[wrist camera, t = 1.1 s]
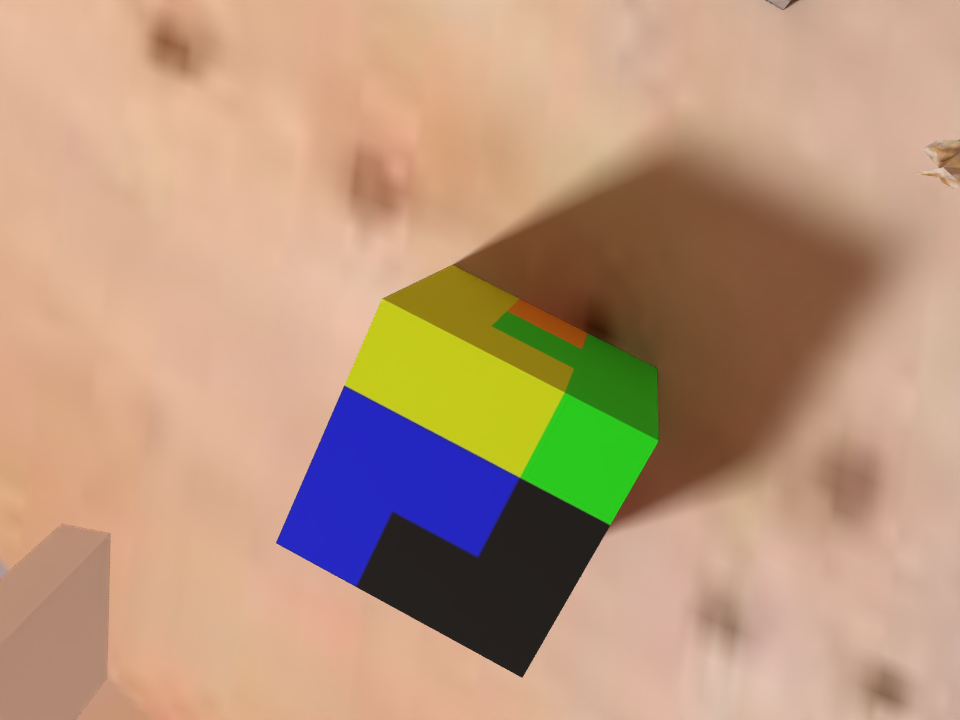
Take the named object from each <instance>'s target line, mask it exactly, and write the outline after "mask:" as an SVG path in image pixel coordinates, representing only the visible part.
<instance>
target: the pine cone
mask: <svg viewBox="0 0 960 720" xmlns="http://www.w3.org/2000/svg"><path fill="white" fill-rule="evenodd" d="M923 150H924V151H925V152H926V153H927V155H928V156H929V157H930V158H931V159H932V160H933V161H934V162H935V163H936V164H937V165H938V166H939V168H937V169H932V170H927V171H922V172H917V173H913V174H921V175H928V176H936V177H940V179H941V181H942V182H943V183H944V184H946V185H948V186H950V187H952V188H956V187H958V186H960V140H941V141H935V142H934V143H932V144H930V145H928V146H927V147H925V148H923Z"/></svg>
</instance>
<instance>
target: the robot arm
mask: <svg viewBox="0 0 960 720" xmlns="http://www.w3.org/2000/svg"><path fill="white" fill-rule="evenodd" d="M110 534H111V533H106V532H101V531H96V530H91V529H86V528H81V527H76V526H70V525H65V524H61V525H60V526H59V527H58V528H57V529H56V530H54V531H53V532H52V533H51V534H50V535H49V536H48V537H47V538H45V539H44V540H43V541H42V542H41V543H40V544H39V545H38V546H37V547H35V548H34V549H33V550H32V551H31V552H30V553H29V554H28V555H26V556H25V557H24V558H23V559H22V560H21V561H20V562H19V563H17V564H16V565H15V566H14V567H13V568H12V569H11V570H10V571H9V572H7V573H6V574H5V575H4V576H3V577H2V578H1V579H0V720H76V719H77V718H78V716H79V715H80V714H81V713H82V711H83V710H84V708H85V707H86V706H87V705H88V703H89V702H90V701H91V699H92V698H93V697H94V695H95V694H96V693H97V691H98V690H99V689H100V687H101V686H102V685H103V683H104V682H105V681H106V679H107V661H108V619H109V576H110Z"/></svg>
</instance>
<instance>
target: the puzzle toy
mask: <svg viewBox="0 0 960 720" xmlns="http://www.w3.org/2000/svg"><path fill="white" fill-rule="evenodd" d="M658 441H659V427H658V383H657V368H655V367H653V366H651V365H649V364H647V363H645V362H643V361H642V360H640V359H638V358H636V357H634V356H632V355H630V354H628V353H626V352H624V351H622V350H620V349H618V348H616V347H614V346H612V345H610V344H608V343H606V342H604V341H602V340H600V339H598V338H596V337H594V336H592V335H590V334H588V333H586V332H584V331H582V330H580V329H578V328H576V327H574V326H572V325H570V324H568V323H566V322H564V321H562V320H561V319H559V318H557V317H555V316H553V315H551V314H549V313H547V312H545V311H543V310H541V309H539V308H537V307H535V306H533V305H531V304H529V303H527V302H525V301H523V300H521V299H519V298H517V297H515V296H513V295H511V294H509V293H507V292H505V291H503V290H501V289H499V288H497V287H495V286H493V285H491V284H489V283H487V282H485V281H483V280H481V279H479V278H478V277H476V276H474V275H472V274H470V273H468V272H466V271H464V270H462V269H460V268H458V267H456V266H454V265H451V266H449V267H447V268H445V269H443V270H441V271H439V272H437V273H435V274H432V275H430V276H428V277H426V278H424V279H422V280H420V281H418V282H416V283H414V284H412V285H410V286H408V287H405V288H403V289H401V290H399V291H397V292H395V293H393V294H391V295H389V296H387V297H385V298H383V299H382V300H381V303H380V305H379V307H378V310H377V312H376V314H375V317H374V319H373V321H372V323H371V326H370V328H369V330H368V333H367V335H366V337H365V340H364V342H363V344H362V346H361V349H360V351H359V353H358V356H357V358H356V360H355V363H354V365H353V367H352V369H351V372H350V374H349V376H348V379H347V381H346V383H345V385H344V388H343V390H342V392H341V395H340V397H339V399H338V402H337V404H336V406H335V408H334V411H333V413H332V415H331V418H330V420H329V422H328V425H327V427H326V429H325V431H324V434H323V436H322V438H321V441H320V443H319V445H318V448H317V450H316V452H315V454H314V457H313V459H312V461H311V464H310V466H309V468H308V471H307V473H306V475H305V477H304V480H303V482H302V484H301V487H300V489H299V491H298V494H297V496H296V498H295V500H294V503H293V505H292V507H291V510H290V512H289V514H288V517H287V519H286V521H285V523H284V526H283V528H282V530H281V533H280V535H279V537H278V540H277V542H276V543H277V544H279V545H281V546H282V547H284V548H286V549H288V550H290V551H292V552H293V553H295V554H297V555H299V556H301V557H302V558H304V559H306V560H308V561H310V562H312V563H313V564H315V565H317V566H319V567H321V568H323V569H324V570H326V571H328V572H330V573H332V574H334V575H335V576H337V577H339V578H341V579H343V580H345V581H346V582H348V583H350V584H352V585H354V586H355V587H357V588H359V589H361V590H363V591H365V592H366V593H368V594H370V595H372V596H374V597H376V598H377V599H379V600H381V601H383V602H385V603H387V604H388V605H390V606H392V607H394V608H396V609H398V610H399V611H401V612H403V613H405V614H407V615H409V616H410V617H412V618H414V619H416V620H418V621H419V622H421V623H423V624H425V625H427V626H429V627H430V628H432V629H434V630H436V631H438V632H440V633H441V634H443V635H445V636H447V637H449V638H451V639H452V640H454V641H456V642H458V643H460V644H462V645H463V646H465V647H467V648H469V649H471V650H472V651H474V652H476V653H478V654H480V655H482V656H483V657H485V658H487V659H489V660H491V661H493V662H494V663H496V664H498V665H500V666H502V667H504V668H505V669H507V670H509V671H511V672H513V673H515V674H516V675H518V676H520V677H523V676H524V674H525V672H526V670H527V669H528V667H529V665H530V663H531V662H532V660H533V658H534V657H535V655H536V653H537V651H538V650H539V648H540V646H541V644H542V643H543V641H544V639H545V637H546V636H547V634H548V632H549V631H550V629H551V627H552V625H553V624H554V622H555V620H556V618H557V617H558V615H559V613H560V611H561V610H562V608H563V606H564V604H565V603H566V601H567V599H568V598H569V596H570V594H571V592H572V591H573V589H574V587H575V585H576V584H577V582H578V580H579V578H580V577H581V575H582V573H583V572H584V570H585V568H586V566H587V565H588V563H589V561H590V559H591V558H592V556H593V554H594V552H595V551H596V549H597V547H598V545H599V544H600V542H601V540H602V539H603V537H604V535H605V533H606V532H607V530H608V528H609V526H610V525H611V523H612V521H613V519H614V518H615V516H616V514H617V512H618V511H619V509H620V507H621V506H622V504H623V502H624V500H625V499H626V497H627V495H628V493H629V492H630V490H631V488H632V486H633V485H634V483H635V481H636V480H637V478H638V476H639V474H640V473H641V471H642V469H643V467H644V466H645V464H646V462H647V460H648V459H649V457H650V455H651V453H652V452H653V450H654V448H655V447H656V445H657V443H658Z"/></svg>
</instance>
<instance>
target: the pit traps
mask: <svg viewBox="0 0 960 720" xmlns="http://www.w3.org/2000/svg"><path fill="white" fill-rule="evenodd" d="M766 1H768V2H770V3H771V4H773V5H775V6H777V7H778V8H780V9H782V10H784V8H785V7H786V6H787V5H788V3H789V2H790V1H791V0H766Z"/></svg>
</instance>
